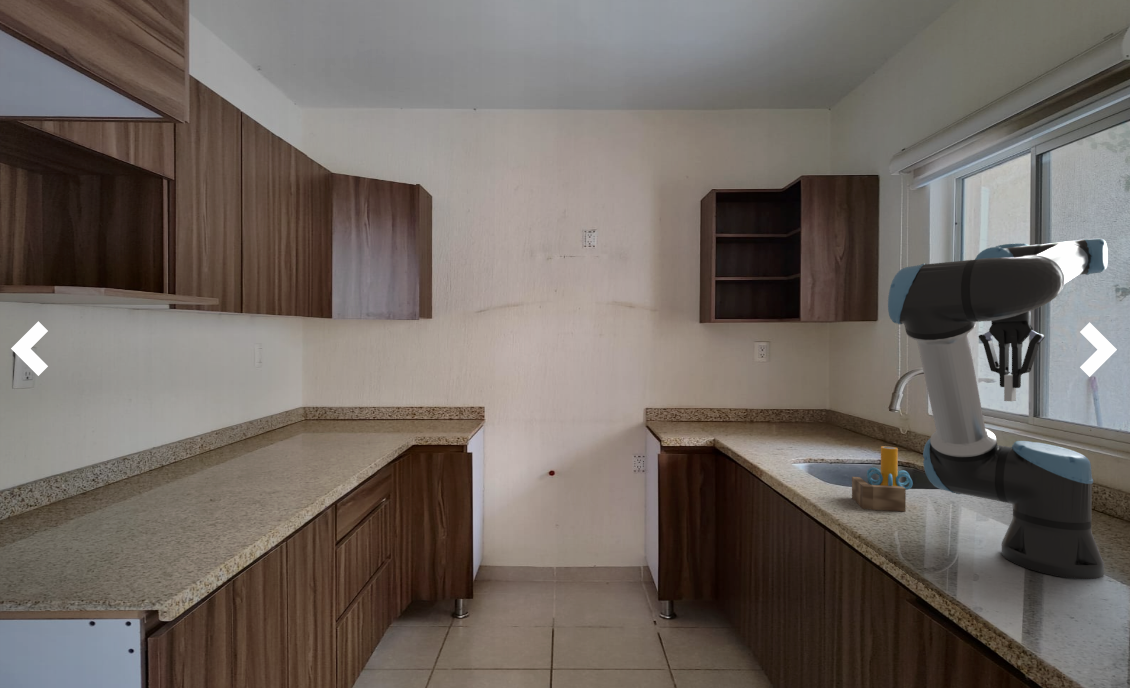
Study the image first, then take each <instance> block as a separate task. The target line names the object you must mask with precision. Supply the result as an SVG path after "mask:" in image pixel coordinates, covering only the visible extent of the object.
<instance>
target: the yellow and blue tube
mask: <svg viewBox="0 0 1130 688" xmlns="http://www.w3.org/2000/svg"><path fill="white" fill-rule="evenodd" d="M898 453H899V449H898V447H894V446H889V445H887V446H886V445H885V446H884V445H883V446H882V445H881V446H880V469H879V468H877V467H870V468H868V469H867V471H866V476H867V483H868V484H870V485H884V486H902V487H904V488H905V489H906V491H907V490H910V489H911V488H912V487H913V485H914V484H913V480H912V478H911V476H910V473H909V472H908V471H906V470H903V469H902V470H898V467H899V466H898V465H899V463H898V460H899V456H898V455H899V454H898ZM873 475H878V479H873V478H872V476H873ZM901 478H906V479H905V481H903V482H900V479H901ZM906 485H907V486H906Z"/></svg>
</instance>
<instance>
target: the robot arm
mask: <svg viewBox="0 0 1130 688" xmlns="http://www.w3.org/2000/svg"><path fill="white" fill-rule="evenodd" d="M1108 250H1109V249H1108V245H1107V242H1106V240H1105V239H1103V238H1099V237H1098V238H1081V239H1078V240H1067V241H1058V242H1052V243H1051V242H1049V243H1044V244H1043V243H1042V244H1041V243H1040V244H1031V245H1029V244H1028V243H1020V242H1017V243H1005V244H1000V245H999V244H998V245H996V246H991V247H988V248H985V249H983V250H981V251H980V252H979V253H978V254H977V255H976V256H975V259H966V260H965V259H964V260H958V261H948V262H947V261H945V262H937V263H935V262H934V263H922V264H918V265H910V266H906V267H903V268H902V269H899V271H897V273H896V274H895V275H894V277H893V279H892V281H891V284H890V287H889V291H888V297H887V299H888V300H887V312H888V316H889V319H890V320H891V322H892V323H894V324H897V325H902V324H903V325H904V329H905V333H906V335H907V337H908V338H910V339H912V340H914V341H916V343H917V347H918V352H919V358H920V361H921V366H922V371H923V375H924V381H925V386H926V390H927V394H928V399H929V403H930V408H931V414H932V416H933V422H934V427H935V431H934V432H933V433H932V434H931V435H930V438H929V439H928V440H927V441H926V443H925V445H924V446H923V450H922V451H923V453H922V456H923V469H924V472H925V475H926V477H927V480H928V481H929V482H930V483H931V484H932V486H933V487H935V488H937V489H940V490H942V491H946V492H950V493H952V494H956V495H966V496H971V497H977V498H981V499H987V500H993V501H996V502H1001V503H1007V504H1011V506H1012V519H1011V521H1010V523H1009V525H1008V528H1007V530H1006V531H1005V532H1006V533H1005V534H1004V536H1003V538H1002V541H1001V555H1002V556H1003V558H1005V559H1006V560H1008V561H1009V562H1011V563H1013V564H1015V565H1018V566H1020V567H1023V568H1025V569H1028V570H1032V571H1034V572H1037V573H1042V574H1046V575H1051V576H1055V577H1060V578H1066V579H1067V578H1068V579H1075V580H1096V579H1100V578H1103V577H1104V576H1105V563H1104V560H1103V558H1102V554H1101V553H1100V550H1099V547H1098V544H1097V543H1096V542H1097V541H1096V540H1095V537H1094V535H1093V531H1092V505H1093V504H1092V501H1093V500H1092V499H1093V498H1092V495H1093V493H1092V492H1093V491H1092V490H1093V484H1094V479H1093V475H1092V464H1091V461H1090V459H1089V458H1088V457H1087V456H1085V455H1084V454H1082V453H1080V452H1077V451H1076V450H1073V449H1070V448H1065V447H1061V446H1058V445H1054V444H1048V443H1045V442H1044V443H1043V442H1036V441H1035V442H1034V441H1028V440H1016V441H1014V442H1013V444H1012V445H1011V446H1007V445H998V442H997V441H998V440H997V437H996V435H995V433H994V432H993V431H991V430H990V429H988V428H986V425H985V419H984V416H983V411H982V410H983V409H982V404H981V403H982V402H981V398H980V393H979V388H978V383H977V382H978V381H977V377H976V372H975V365H974V360H973V355H972V350H971V345H970V338H969V333H970V332H972V331H973V330H974V328H976V325H977V324H976V322H978V323H979V322H990V323H991V325H990V327H989V329H988V330H989V331H987V332H985V333H982V334H979V335H978V339H979V341H981V343H982V346H983V348H984V352H985V355H986V359H987V362H988V365H989V369H990V371H991V372H992V373H993V372H994V373H996V374H998V375H999V387H1000V388H1003V392H1004V393H1003V397H1004V398H1003V401H1004V402H1016V401H1017V389H1020V388H1021V386H1022V385H1021V384H1022V381H1021V380H1022V378H1021V377H1022V375H1023V374H1026V373H1031V371H1032V368H1033V365H1034V362H1035V359H1036V356H1037V353H1038V350H1039V346H1040V344H1041V342H1042V341H1043V340H1044V339H1045V338H1046V336H1045V335H1044V334H1043V333H1038V332H1036V331H1035V330H1034V328H1033V326H1032V325H1031V312H1032V311H1034V310H1037V309H1039V308H1040V307H1043V306H1045V305H1046V304H1048V303H1050V302H1051V301H1053V300H1054V299H1055V298H1057V297H1058V296H1059V295H1060V293H1062V292H1061V291H1062V290H1063V289H1064V286H1065V285H1066V284H1067V283H1069V282H1070V281H1071V280H1073V279H1074V278H1076V277H1077V276H1081V275H1086V276H1088V275H1092V274H1101V273H1103V272H1104V271H1105V270H1106V269H1107V268H1108V263H1109V252H1108ZM1028 337H1029V340H1030V341H1029V343H1028V346H1027V348H1026V353H1025V356H1024V359H1022V358H1023V357H1022V356H1023V354H1022V353H1023V351H1022V349H1023V342H1025V341H1026V339H1028ZM993 338H994V339H995V340H996V341H997V342H998V350H999V351H998V356H997V354H996V350H995V346H994V343H993V341H992V340H993ZM1010 347H1011V372H1010V371H1009V370H1010V369H1009V368H1010V355H1009V354H1010ZM1022 360H1023V362H1022Z"/></svg>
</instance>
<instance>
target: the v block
mask: <svg viewBox="0 0 1130 688" xmlns="http://www.w3.org/2000/svg"><path fill="white" fill-rule="evenodd" d="M904 487H905V486H903V487H902V486H884V485H870V484H869V482H866V481H865V480H864V479H863V478H862V477H860V476H851V499H853V501H855V503H856V504H857V505H859V506H860V508H862V510H875V511H889V512H891V511H892V512H893V511H894V512H904V513H905V512H906V503H907V502H906V496H907V494H906V492H907V490H906V489H905V488H904Z"/></svg>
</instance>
